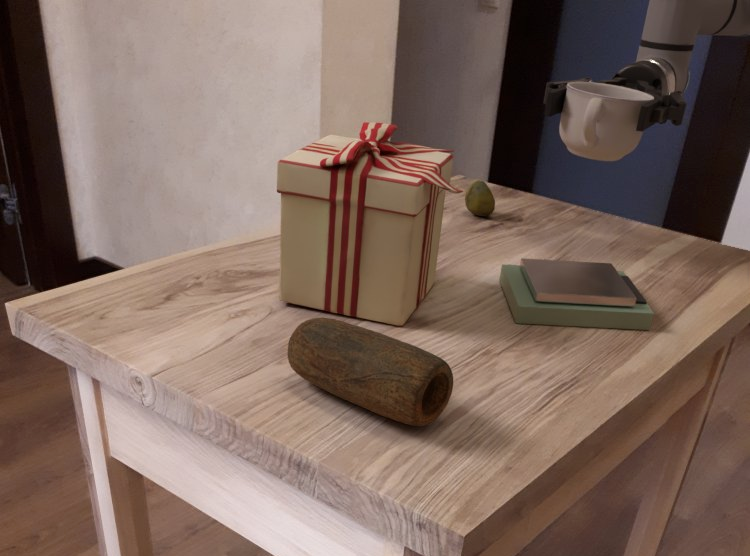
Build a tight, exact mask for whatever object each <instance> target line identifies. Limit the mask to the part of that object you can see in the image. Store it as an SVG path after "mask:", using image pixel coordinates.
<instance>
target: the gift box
mask: <svg viewBox="0 0 750 556" xmlns="http://www.w3.org/2000/svg"><path fill="white" fill-rule="evenodd" d="M398 129H399V126H398V125H396V124H392V123H391V124H390V123H384V122H366V121H365V122H363V123H362V125H361V127H360V131H359V133H358V135H359V138H356V137H349V136H342V135H337V134H327V135H325V136H324V137H321V138H320V139H318V140H316V141H314V142H312V143H309V144H308V145H306V146H304V147H302V148H300V149H298V150H296V151H294V152H292V153H290V154H289V155H287V156H285V157H282V158H281V159H279V160H278V161H277V164H276V193H277V194H280V236H279V237H280V238H279V241H280V243H279V244H280V245H279V246H280V247H279V301H281V302H283V303H287V304H292V305H298V306H301V307H306V308H311V309H315V310H320V311H325V312H329V313H334V314H338V315H339V314H340V315H342V316H343V315H344V316H349V317H354V318H359V319H363V320H368V321H373V322H379V323H384V324H387V325H388V324H389V325H393V326H398V327H402V326H404V325H405V324H406V323H407V321H408V320H409V319H410V317H411V316H412V314H413V313H414V312H415V311H416V309H417V308H419V306H420V303H421V302H422V301H423V300H424V299H425V297H426V296H427V295H428V293H429V292H430V290H432V288H433V286H434V285H435V279H436V272H437V264H438V256H439V247H440V240H441V233H442V225H443V218H444V208H445V200H446V192H449V193H452V194H455V195H456V194H462V193H464V190H462V189H458V188H455V187H454V186H452V185H451V181H452V180H451V179H452V172H453V164H454V154H452V152H455V149H441V148H435V147H434V148H433V147H429V146H424V145H420V144H415V143H409V142H393V141H390V140H389V139H390V138H391V137H392V136H393V134H394V133H395V131H397V130H398Z"/></svg>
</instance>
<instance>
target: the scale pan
mask: <svg viewBox="0 0 750 556" xmlns="http://www.w3.org/2000/svg"><path fill="white" fill-rule="evenodd" d="M519 265H520V268H521V270H522V272H523V274H524V276H525V279H526V281H527V283H528V285H529V288H530V290H531V292H532V294H533V296H534V299H535V301H536V302H554V303H572V304H591V305H609V306H628V307H635V303H636V299H637V298H636V297H635V295H634V294H633V293H632V291H631V290H630V288H629V287H628V286H627V284H626V283H625V282H624V280H623V279H622V277H621V276H620V275H619V273H618V272H617V271H618V270H617V269H616V267H615V266H614V264H612V263H609V262H593V261H577V260H576V261H573V260H556V259H555V260H554V259H542V258H541V259H540V258H539V259H538V258H523V257H521V258H520V263H519Z"/></svg>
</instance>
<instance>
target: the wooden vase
mask: <svg viewBox="0 0 750 556" xmlns="http://www.w3.org/2000/svg"><path fill="white" fill-rule="evenodd" d="M288 339H289V340H288V344H287V360H288V363H289V365H290V368H291V369H292V370H293V371H294V373H296V374H297V375H298V376H299V377H301V378H302V379H304V380H305V381H307V382H309V383H310V384H312V385H314V386H316V387H318V388H320V389H322V390H324V391H326V392H329V394H332V395H334V396H336V397H338V398H340V399H342V400H344V401H348V402H349V403H352V404H354V405H357V406H358V407H361V408H363V409H366V410H368V411H370V412H372V413H374V414H376V415H379V416H382V417H385V418H387V419H390V420H393V421H396V422H399V423H402V424H405V425H409V426H413V427H423V426H427V425H430V424H432V423H433V422H435V420H437V419H438V418H439V417H440V416H441V414H442V413H443V412H444V410H445V408H446V407H447V405H448V404H449V401H450V398H451V396H452V393H453V388H454V375H453V374H454V373H453V371H452V368H451V366H450V365H449V363H448V362H447V361H445V359H443V358H442V357H440V356H438V355H435V354H434V353H432V352H430V351H427V350H425V349H423V348H420V347H418V346H415V345H413V344H410V343H407V342H406V341H402V340H400V339H397V338H395V337H391V336H388V335H386V334H383V333H380V332H378V331H375V330H372V329H369V328H366V327H362V326H359V325H356V324H352V323H349V322H347V321H344V320H339V319H335V318H330V317H315V318H310V319H306V320H305V321H303V322H301V323H300V324H298V326H297V327H296V328H295V329H294V331H293V332H292V334H291V335H290V337H289V338H288Z"/></svg>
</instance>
